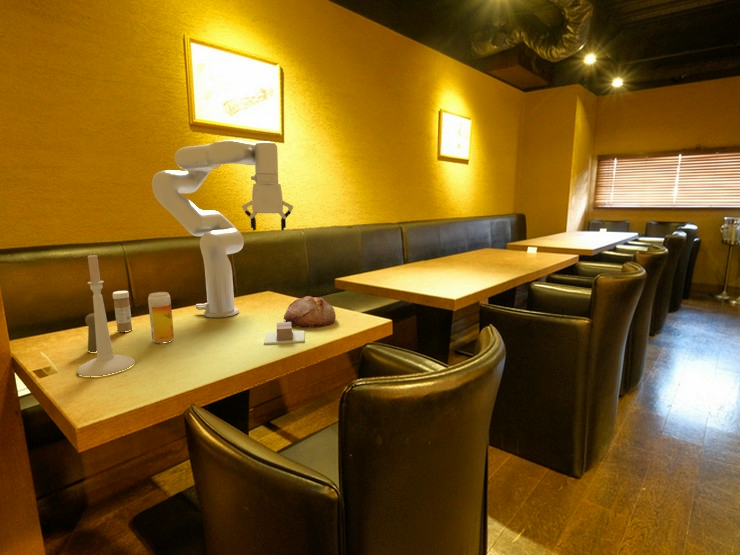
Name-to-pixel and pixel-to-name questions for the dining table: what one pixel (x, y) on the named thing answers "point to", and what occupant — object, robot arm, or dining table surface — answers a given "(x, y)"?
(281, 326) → the brown rectangular block
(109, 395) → the dining table surface
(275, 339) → the mat
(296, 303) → the bread
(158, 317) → the beer can
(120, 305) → the sprinkles bottle
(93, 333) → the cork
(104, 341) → the candlestick
